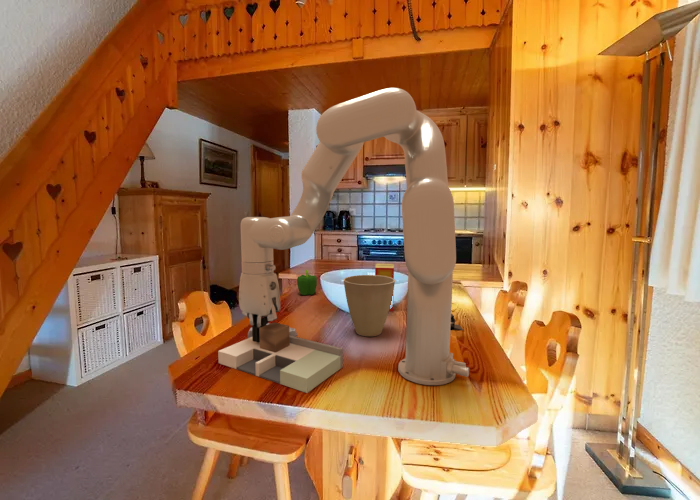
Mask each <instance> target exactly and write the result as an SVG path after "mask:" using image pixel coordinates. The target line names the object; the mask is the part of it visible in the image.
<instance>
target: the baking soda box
mask: <svg viewBox="0 0 700 500" xmlns="http://www.w3.org/2000/svg"><path fill="white" fill-rule="evenodd" d="M374 268H375V269H374V273H375V274H374V275H379V276H386V277H391V278H393V279H395V278H394V277H395V264H394V263H375V267H374ZM389 312H392V313H394V306H393V307H392V308H391V309H389Z"/></svg>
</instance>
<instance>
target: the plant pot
mask: <svg viewBox="0 0 700 500" xmlns="http://www.w3.org/2000/svg"><path fill="white" fill-rule="evenodd" d="M395 283H396V280H395V278H394V279H393V278H391V277H386V276H379V275H375V274H373V275H372V274H361V275H360V274H358V275H357V274H356V275H349V276H347V277H345V278H343V285H344V293H345V298H346V299H345V300H346V304H347V308H348V311H349V315H350V319H351V321H352V324H353V327H354V330H355V332H356V334H358V335H359V336H362V337H376V336H380V335H381V333H382V332H383V330H384V326H385V324H386V321H387V319H388V315H389V312H390V311H389V309H390V305H391V301H392V296H393V297H394V291H395Z"/></svg>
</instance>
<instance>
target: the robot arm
mask: <svg viewBox="0 0 700 500" xmlns="http://www.w3.org/2000/svg"><path fill="white" fill-rule="evenodd" d="M316 122H317V123H316V128H315V129H316V130H315V131H316V135H317V139H318V140H319V142H318V144H317V146H316V148H315V149H314V150H313V152H312V154H311V155H310V158H308V160H307V162H306V164H305V165H304V166H303V169H302V171H301V181H302V192H301V195H300V198H299V201H298V202H297V204H296V206H295V208H294V209H293V211H292V213H291V214H290V215H289V216H288V215H287V216H278V217H271V218H270V217H266V216H247V217H244V218H242V219H241V221H240V247H241V249H240V253H241V273H240V277H239V286H238V287H239V288H238V303H239V304H238V305H239V309H240V310H241V314H242V315H244V316H246V317H247V318H248V320H249V324H250V326H252V327H251V328H252V340H253V341H254V342H255V341H256V342H260V336H259V328H261V327H263V326H266V324H268V323H269V322H273V321H276V320H277V318H278V316H277V313H280V312H281V294H280V293H281V292H280V285H279V281H278V279H279V278H278V276H277V273H275V272H274V271H276V269H277V268H276V265H275V264H274V250H280V251H282V250H288V249H292V248H295V247H298V246H301V245H303V244H305V243H307V242H308V241H309V239H310V238H311V236H312V235H313V234H314V232H315V231H316V229H317V228H318V226H319V224H320V223H321V221H323V218H324V216H326V215H325V214H326V213H327V210H328V208H329V205H330V204H331V200H332V199H333V195H334V192H335V190H336V189H337V187H338V186H339V184H340V183H341V182H342V179H343V178H344V177H345V175H346V173H347V172H348V170H349V169H350V167H351V165H352V164H353V163H354V160H355V159H356V158H357V157H358V155H359V154H360V151H361V150H362V148H363V146H364V144H365V143H366V142H370V141H372V140H373V141H374V140H376V139H380V138H382V137H383V138H385V139H386V140H387V141H389V142H392V143H395V144H397V145H399V147H400V148H401V149H402V150H403V152H404V153H403V154H404V167H405V168H404V169H405V179H406V183H405V184H406V188H405V191H404V193H403V196H402V198H401V199H402V200H401V215H402V216H401V217H402V219H401V220H402V232H403V234H402V235H403V246H404V247H403V250H404V259H405V261H404V262H405V266H406V269H407V273H408V274H407V292H406V293H407V294H406V296H407V297H406V299H407V301H406V302H407V303H406V329H405V330H406V331H405V335H406V336H405V358H403V359H402V360H400V361H399V362H398V367H397V368H398V372H399V374H400V375H401V377H403V378H404V379H406V380H408V381H411V382H413V383H416V384H418V385H424V386H441V385H442V386H443V385H446V384H448V383H451V382H453V381H454V380H455V378H456V375H459V376H462V377H466V378H467V377H469V374H470V367H468V366H467V365H466V364H467V363H466V362H464V361H463V362H462V361H457V360H456V359H454V353H453V352H450V351H451V349H450V347H451V346H450V345H451V330H450V328H451V313H452V304H453V274H454V273H453V272H454V270H455V267H456V263H457V247H456V246H457V245H456V244H457V242H456V223H455V221H456V220H455V219H456V218H455V206H454V205H455V204H454V197H453V194H452V191H451V189H450V186H449V181H448V180H449V179H448V167H447V165H448V164H447V154H446V146H445V141H444V137H443V134H442V131H441V130H440V128H439V127H438V125H437V123H435V122H434V121H433V119H432V118H430V117H429V116H428V115H426V114H424V113H423V112H421V111H419V110H418V109H417V106H416V103H415V101H414V98H413V97H412V96H411V94H410V93H409V92H408V91H406V90H405V89H402V88H399V87H387V88H383V89H378V90H376V91H373V92H370V93H366V94H364V95H361V96H357V97H355V98H352V99H349V100H346V101H343V102H340V103H337V104H335V105H332V106H330V107H329V108H328V109H326V110H325V111H323V112H322V114H320V116H319V118H318V120H317V121H316Z"/></svg>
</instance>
